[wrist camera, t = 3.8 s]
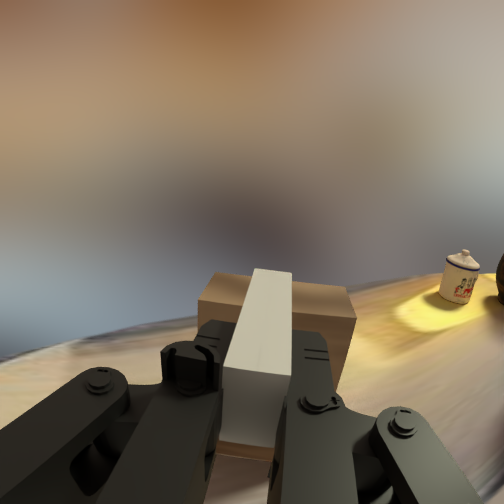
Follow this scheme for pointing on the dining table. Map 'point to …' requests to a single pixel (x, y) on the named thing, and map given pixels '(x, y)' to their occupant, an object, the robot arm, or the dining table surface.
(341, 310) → the walnut slab
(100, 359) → the dining table surface
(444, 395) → the dining table surface
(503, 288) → the ceramic jug
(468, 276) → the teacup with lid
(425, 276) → the dining table surface
